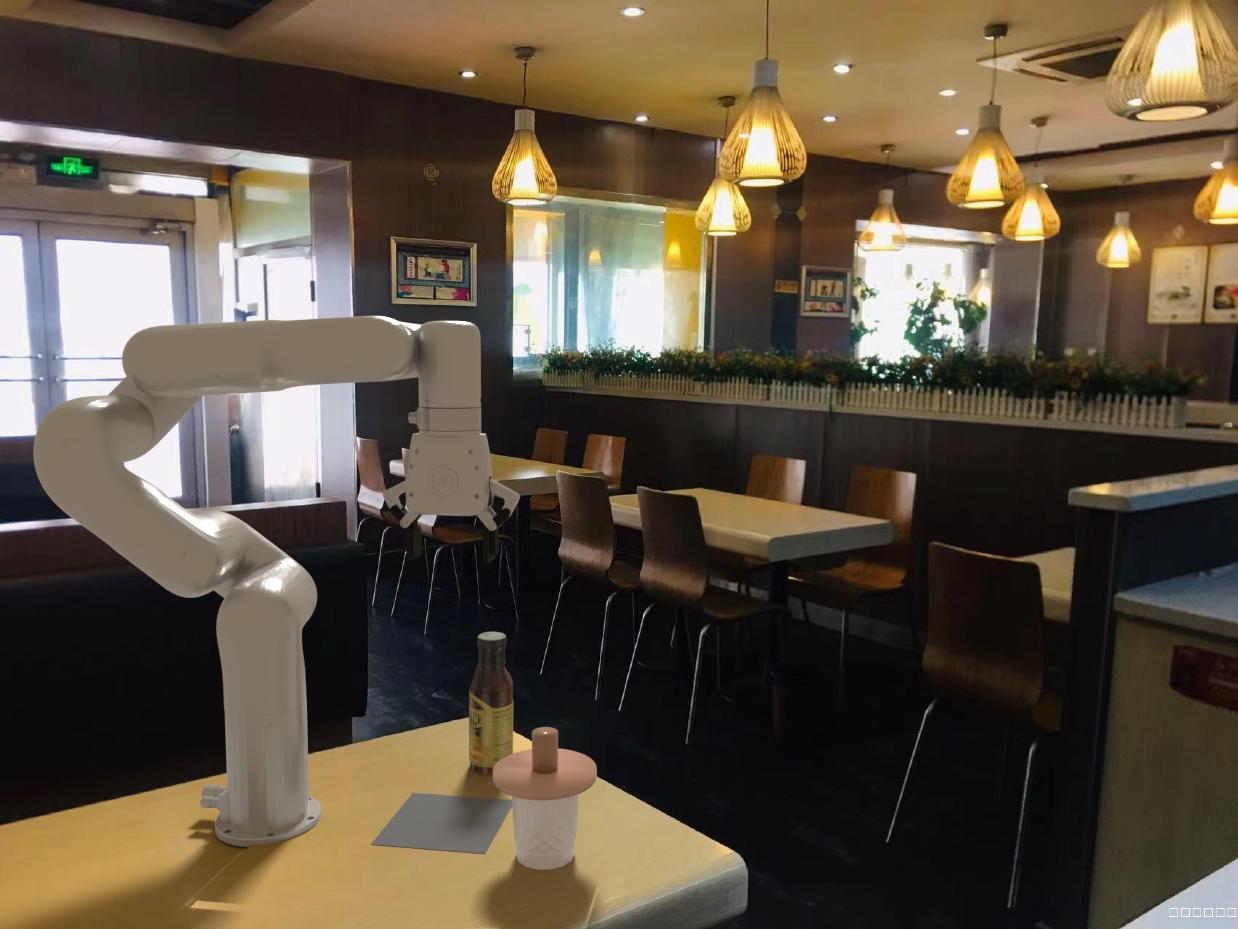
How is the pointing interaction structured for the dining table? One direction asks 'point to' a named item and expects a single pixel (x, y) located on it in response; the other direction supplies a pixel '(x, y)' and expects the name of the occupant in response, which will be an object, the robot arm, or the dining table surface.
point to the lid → (544, 770)
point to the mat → (445, 823)
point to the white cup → (545, 831)
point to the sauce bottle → (490, 705)
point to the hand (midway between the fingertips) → (451, 559)
